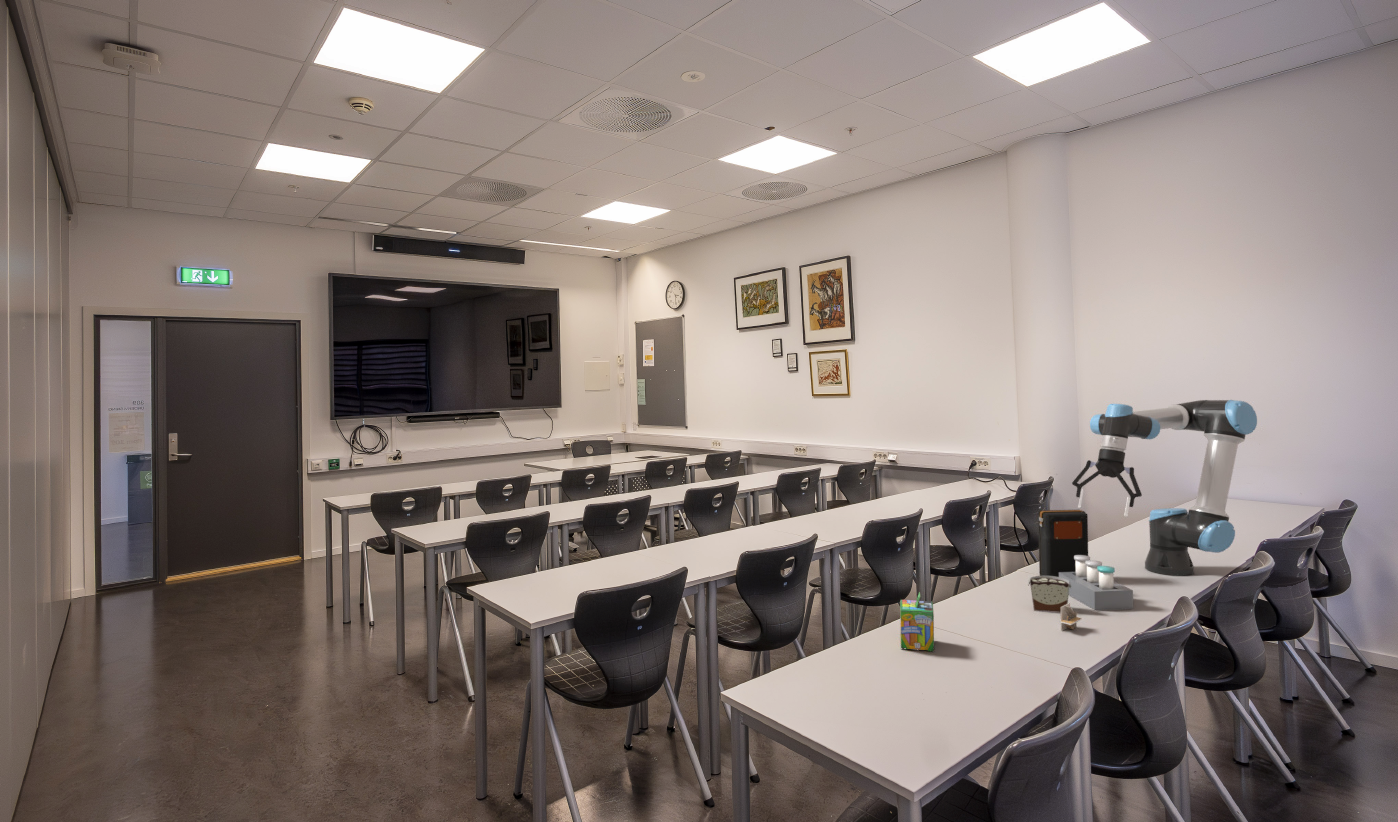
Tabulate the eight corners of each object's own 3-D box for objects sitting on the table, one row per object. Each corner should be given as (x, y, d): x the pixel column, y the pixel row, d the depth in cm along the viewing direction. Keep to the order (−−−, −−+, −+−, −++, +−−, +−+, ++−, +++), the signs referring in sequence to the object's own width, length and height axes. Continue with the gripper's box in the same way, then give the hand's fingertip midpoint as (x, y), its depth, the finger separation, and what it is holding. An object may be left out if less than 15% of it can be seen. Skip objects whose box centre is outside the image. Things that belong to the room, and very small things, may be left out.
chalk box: (900, 637, 200) (899, 587, 200) (933, 640, 197) (932, 589, 197) (900, 650, 191) (898, 597, 191) (935, 652, 189) (933, 599, 188)
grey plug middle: (1097, 583, 230) (1096, 559, 229) (1105, 587, 225) (1105, 563, 224) (1082, 583, 230) (1082, 560, 229) (1090, 588, 225) (1090, 564, 225)
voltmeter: (1081, 575, 254) (1079, 508, 253) (1092, 582, 245) (1091, 512, 244) (1037, 575, 255) (1035, 509, 254) (1046, 582, 247) (1045, 513, 246)
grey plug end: (1085, 577, 237) (1085, 554, 236) (1093, 581, 232) (1093, 558, 231) (1071, 578, 237) (1071, 555, 236) (1079, 582, 232) (1078, 558, 232)
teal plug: (1109, 589, 223) (1109, 565, 222) (1118, 594, 218) (1117, 569, 217) (1094, 590, 223) (1094, 565, 222) (1103, 594, 218) (1102, 569, 218)
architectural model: (1082, 630, 201) (1081, 605, 201) (1071, 636, 197) (1070, 610, 197) (1070, 627, 204) (1069, 602, 204) (1059, 633, 200) (1058, 608, 200)
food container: (1068, 606, 221) (1067, 576, 220) (1072, 613, 215) (1071, 581, 214) (1026, 604, 225) (1025, 574, 224) (1028, 610, 219) (1028, 579, 218)
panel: (1093, 588, 238) (1093, 571, 238) (1133, 608, 216) (1132, 590, 216) (1059, 589, 238) (1058, 572, 238) (1094, 610, 216) (1094, 591, 216)
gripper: (1071, 442, 233) (1060, 504, 233) (1158, 455, 221) (1147, 520, 221) (1070, 444, 240) (1060, 503, 239) (1155, 456, 228) (1144, 519, 227)
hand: (1102, 512), depth 230 cm, fingers open, 13 cm apart
